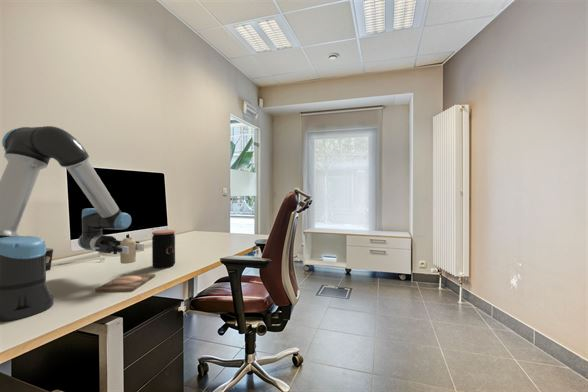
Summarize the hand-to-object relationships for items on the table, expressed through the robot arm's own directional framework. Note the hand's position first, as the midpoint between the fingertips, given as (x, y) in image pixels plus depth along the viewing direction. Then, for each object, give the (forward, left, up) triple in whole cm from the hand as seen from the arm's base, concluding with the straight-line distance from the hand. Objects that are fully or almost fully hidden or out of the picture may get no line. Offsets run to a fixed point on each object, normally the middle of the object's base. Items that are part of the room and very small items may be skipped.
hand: (135, 249), depth 109 cm
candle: (+3, +4, -6) cm, 8 cm away
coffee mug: (+22, +59, -15) cm, 64 cm away
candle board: (+2, +5, -15) cm, 16 cm away
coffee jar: (+29, +2, -15) cm, 33 cm away
